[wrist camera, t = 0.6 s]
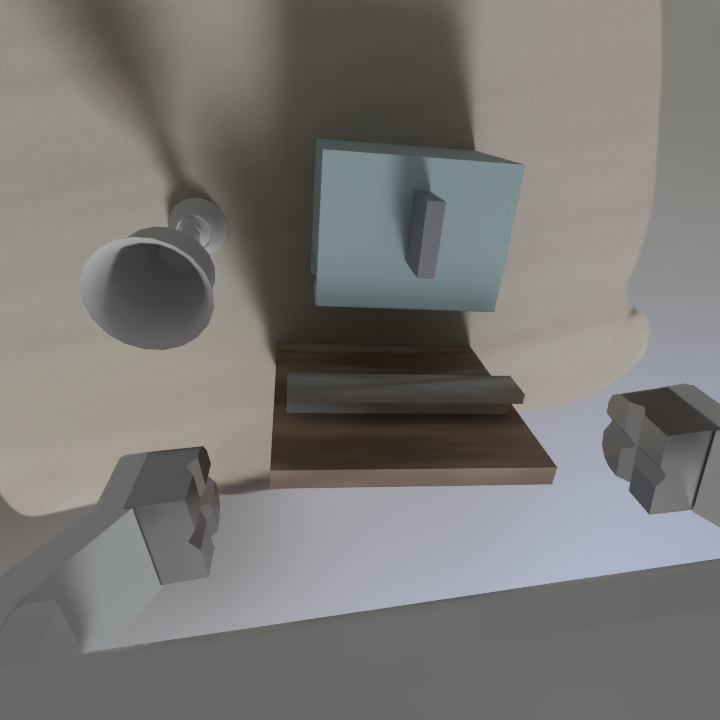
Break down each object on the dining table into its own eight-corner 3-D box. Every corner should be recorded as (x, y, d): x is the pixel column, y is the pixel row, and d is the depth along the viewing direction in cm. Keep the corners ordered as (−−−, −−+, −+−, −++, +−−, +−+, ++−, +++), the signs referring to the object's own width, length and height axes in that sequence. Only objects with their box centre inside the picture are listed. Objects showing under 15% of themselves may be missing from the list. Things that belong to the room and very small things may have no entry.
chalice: (151, 255, 46) (78, 338, 30) (158, 177, 43) (80, 223, 27) (234, 272, 48) (206, 359, 32) (246, 197, 45) (221, 252, 29)
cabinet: (315, 138, 44) (326, 155, 30) (474, 150, 46) (550, 172, 32) (310, 268, 49) (317, 332, 35) (454, 274, 50) (512, 337, 37)
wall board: (277, 314, 50) (270, 432, 32) (475, 320, 53) (568, 432, 35) (277, 369, 53) (270, 505, 35) (465, 372, 56) (546, 500, 38)
